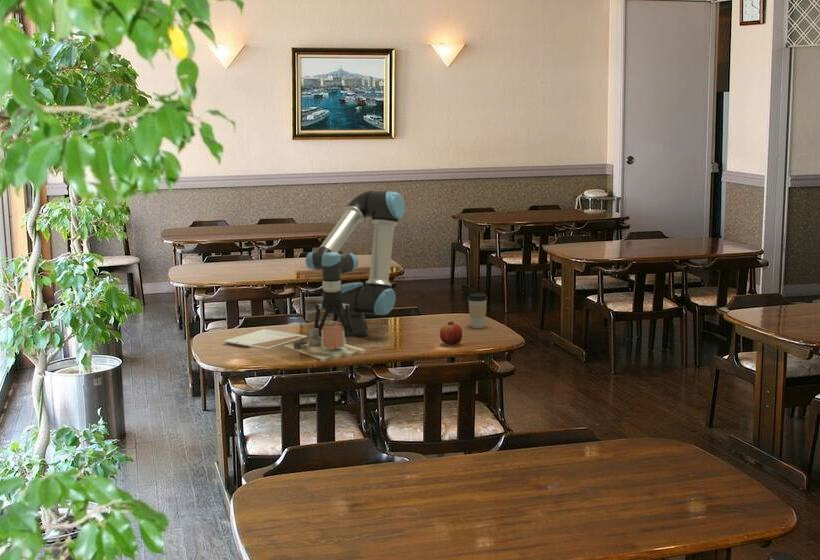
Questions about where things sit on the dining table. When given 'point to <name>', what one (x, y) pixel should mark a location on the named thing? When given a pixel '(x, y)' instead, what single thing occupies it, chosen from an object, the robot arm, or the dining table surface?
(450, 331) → the fruit
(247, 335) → the plate
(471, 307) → the coffee cup
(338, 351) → the coaster
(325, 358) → the lock station
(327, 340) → the pink cylinder
